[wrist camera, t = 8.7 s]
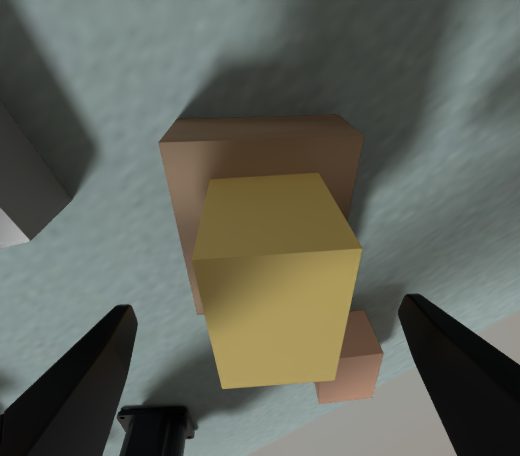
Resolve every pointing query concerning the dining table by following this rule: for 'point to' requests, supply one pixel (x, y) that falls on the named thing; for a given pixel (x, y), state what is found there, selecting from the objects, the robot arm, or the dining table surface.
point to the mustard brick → (275, 278)
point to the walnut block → (253, 161)
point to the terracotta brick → (354, 363)
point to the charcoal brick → (24, 186)
